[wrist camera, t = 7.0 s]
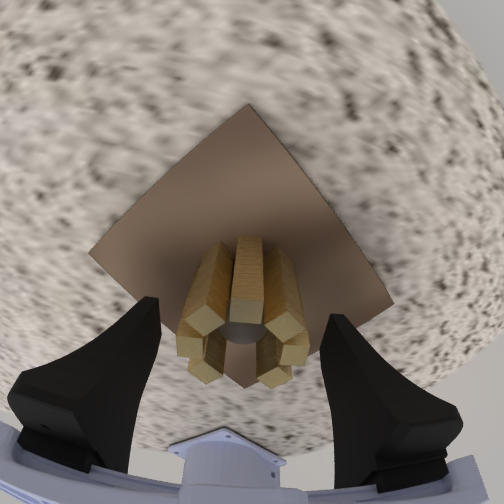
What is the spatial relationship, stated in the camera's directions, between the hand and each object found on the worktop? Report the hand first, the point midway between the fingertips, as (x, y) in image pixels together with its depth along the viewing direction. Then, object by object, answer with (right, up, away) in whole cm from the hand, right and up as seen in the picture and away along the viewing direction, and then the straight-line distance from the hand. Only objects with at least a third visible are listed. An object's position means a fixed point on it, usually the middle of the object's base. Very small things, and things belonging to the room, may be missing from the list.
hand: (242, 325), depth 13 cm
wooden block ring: (0, +2, +3) cm, 3 cm away
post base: (0, +2, +4) cm, 5 cm away
